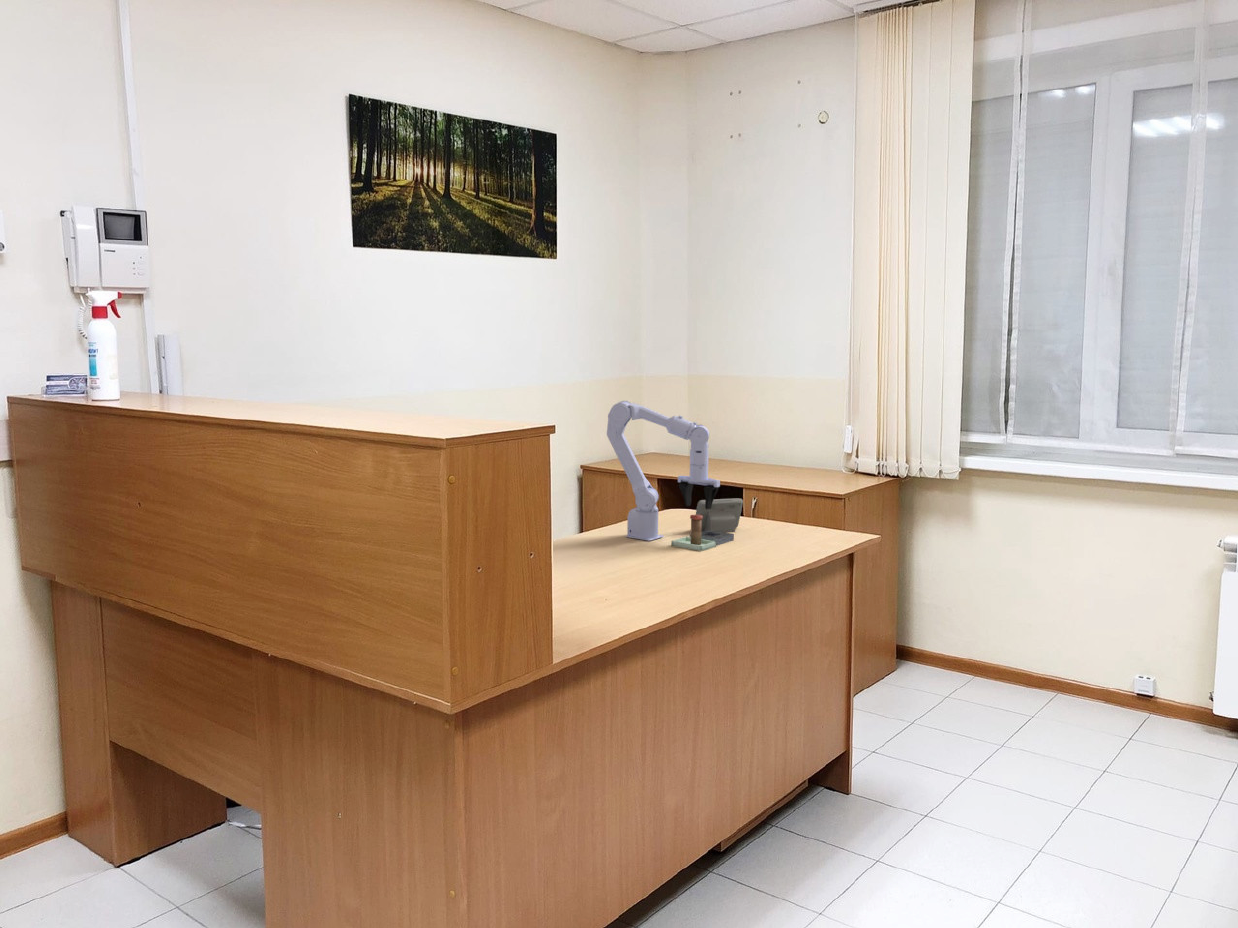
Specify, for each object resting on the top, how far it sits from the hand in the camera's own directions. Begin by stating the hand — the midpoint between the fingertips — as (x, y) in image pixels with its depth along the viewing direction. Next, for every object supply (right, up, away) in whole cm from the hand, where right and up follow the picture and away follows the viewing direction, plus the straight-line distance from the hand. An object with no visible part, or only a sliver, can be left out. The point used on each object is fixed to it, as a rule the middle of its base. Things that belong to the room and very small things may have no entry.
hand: (698, 507), depth 310 cm
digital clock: (+8, -9, +17) cm, 20 cm away
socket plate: (+4, -10, +1) cm, 11 cm away
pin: (-1, -11, -7) cm, 13 cm away
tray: (-2, -12, -7) cm, 14 cm away
